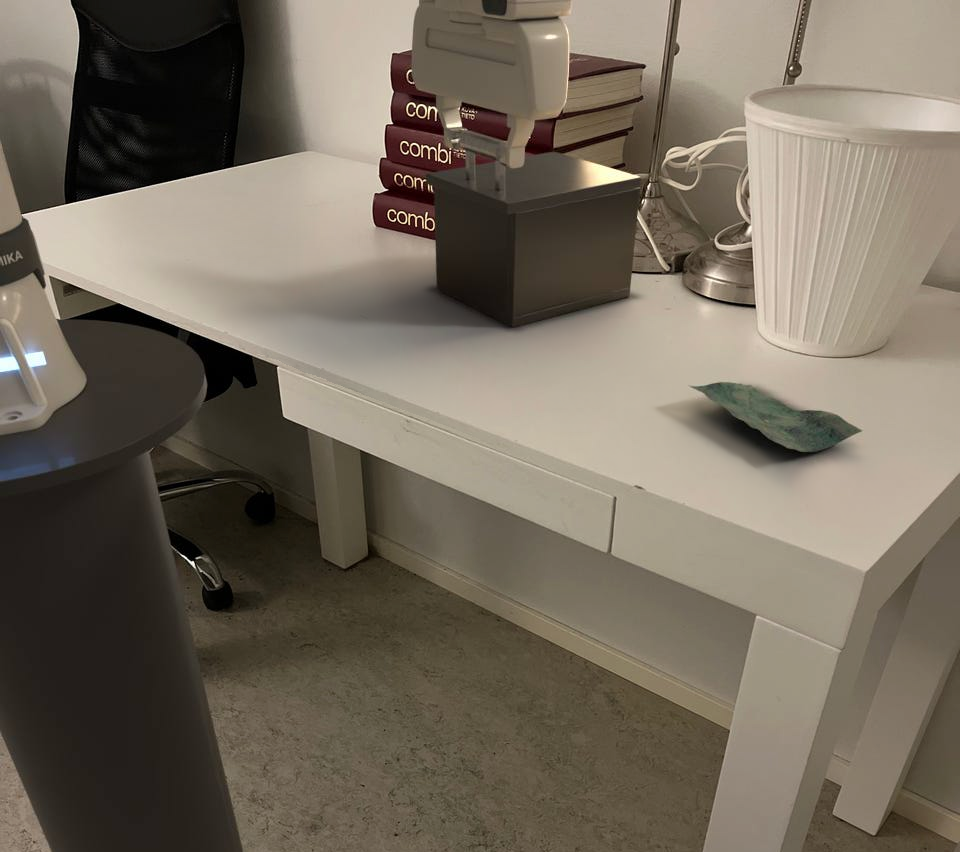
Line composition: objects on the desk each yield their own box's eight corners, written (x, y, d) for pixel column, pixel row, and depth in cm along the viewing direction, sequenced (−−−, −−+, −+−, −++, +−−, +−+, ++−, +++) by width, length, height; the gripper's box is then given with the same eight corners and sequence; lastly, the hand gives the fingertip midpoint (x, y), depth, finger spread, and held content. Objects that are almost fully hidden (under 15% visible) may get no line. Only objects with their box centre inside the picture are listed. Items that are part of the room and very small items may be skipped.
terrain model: (681, 403, 83) (685, 383, 82) (750, 389, 86) (754, 369, 85) (785, 467, 74) (791, 445, 73) (857, 449, 78) (864, 427, 76)
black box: (512, 327, 98) (515, 213, 91) (436, 289, 107) (433, 182, 100) (629, 296, 105) (640, 187, 98) (549, 263, 114) (553, 161, 107)
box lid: (506, 214, 90) (507, 152, 87) (425, 183, 99) (423, 126, 96) (640, 187, 98) (646, 129, 95) (553, 161, 107) (556, 107, 104)
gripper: (392, -22, 90) (398, 141, 99) (526, -4, 77) (519, 182, 86) (448, -25, 93) (449, 134, 102) (586, -7, 80) (574, 173, 89)
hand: (482, 156), depth 94 cm, fingers open, 8 cm apart
